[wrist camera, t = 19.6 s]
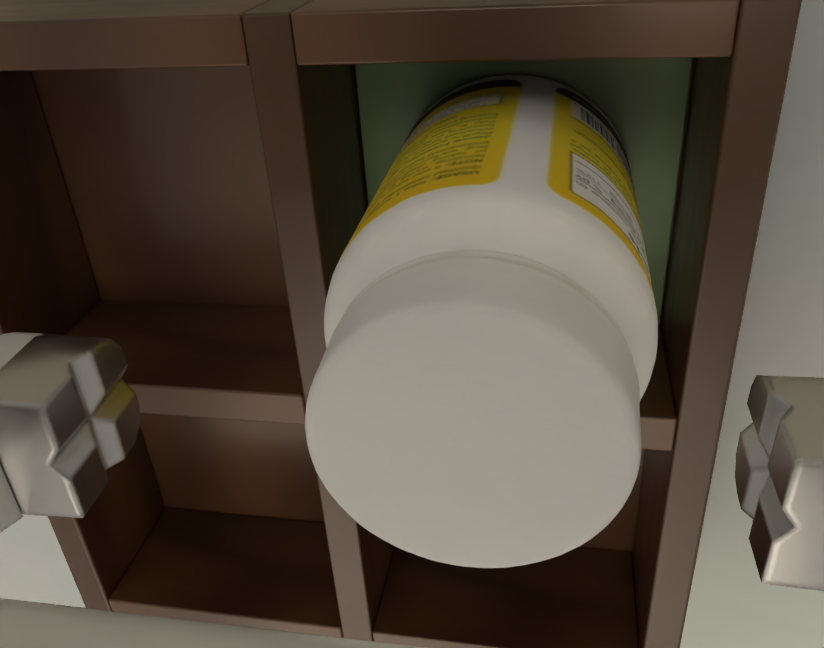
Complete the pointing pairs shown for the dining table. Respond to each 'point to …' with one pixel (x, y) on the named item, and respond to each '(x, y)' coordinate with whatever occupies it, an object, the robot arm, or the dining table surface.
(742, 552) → the dining table surface
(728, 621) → the dining table surface
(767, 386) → the robot arm
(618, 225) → the supplement bottle
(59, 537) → the wooden compartment tray
